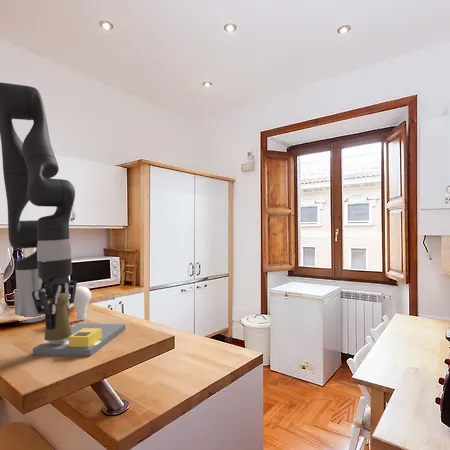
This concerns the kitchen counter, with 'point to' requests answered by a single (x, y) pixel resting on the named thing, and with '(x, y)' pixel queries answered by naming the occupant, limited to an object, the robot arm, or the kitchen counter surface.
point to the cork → (59, 320)
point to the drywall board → (63, 347)
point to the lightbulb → (81, 301)
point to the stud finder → (85, 337)
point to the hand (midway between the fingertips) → (57, 325)
